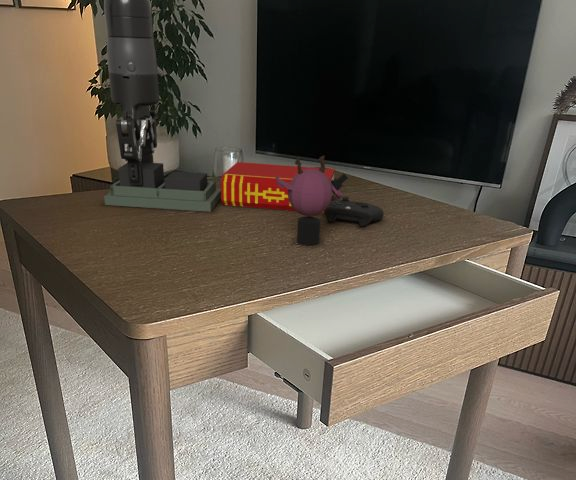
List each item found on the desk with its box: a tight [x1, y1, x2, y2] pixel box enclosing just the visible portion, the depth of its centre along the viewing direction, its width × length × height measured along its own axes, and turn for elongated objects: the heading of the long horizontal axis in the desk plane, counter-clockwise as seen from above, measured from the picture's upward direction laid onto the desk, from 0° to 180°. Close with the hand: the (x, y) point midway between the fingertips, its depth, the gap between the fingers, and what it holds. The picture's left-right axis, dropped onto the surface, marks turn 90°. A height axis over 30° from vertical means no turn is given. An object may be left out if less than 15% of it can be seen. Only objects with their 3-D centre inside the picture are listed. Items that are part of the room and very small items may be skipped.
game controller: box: [325, 196, 385, 228], centre depth 98 cm, size 10×5×6 cm
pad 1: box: [117, 162, 165, 188], centre depth 103 cm, size 6×6×3 cm
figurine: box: [275, 155, 349, 246], centre depth 84 cm, size 8×8×12 cm
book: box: [220, 161, 336, 214], centre depth 106 cm, size 18×13×5 cm
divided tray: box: [103, 177, 221, 213], centre depth 104 cm, size 18×10×3 cm, turn 85°
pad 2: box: [164, 171, 208, 191], centre depth 103 cm, size 6×6×3 cm
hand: (142, 180), depth 103 cm, fingers closed on pad 1, 6 cm apart
